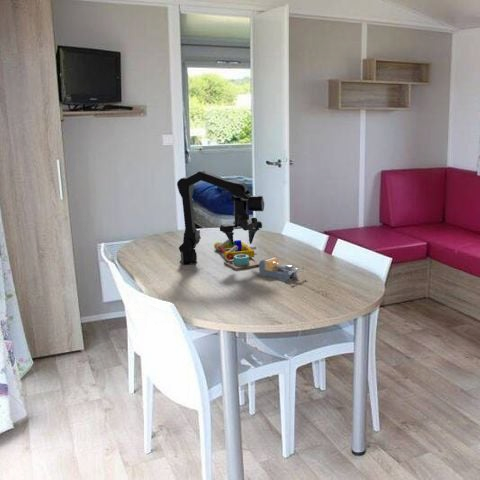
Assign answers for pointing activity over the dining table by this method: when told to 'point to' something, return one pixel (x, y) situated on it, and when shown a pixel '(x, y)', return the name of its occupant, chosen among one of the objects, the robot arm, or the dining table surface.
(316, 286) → the dining table surface
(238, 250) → the yellow jointed frame
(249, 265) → the post stand
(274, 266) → the vise
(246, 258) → the ring
